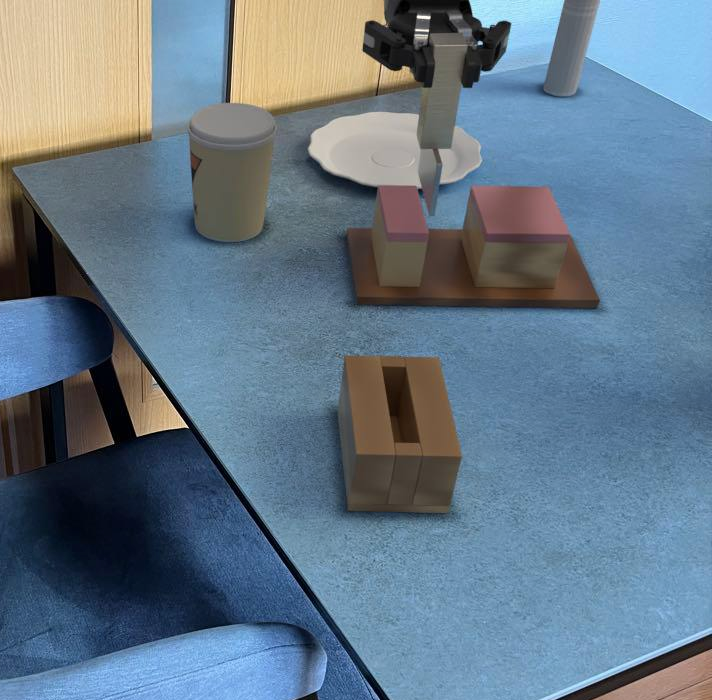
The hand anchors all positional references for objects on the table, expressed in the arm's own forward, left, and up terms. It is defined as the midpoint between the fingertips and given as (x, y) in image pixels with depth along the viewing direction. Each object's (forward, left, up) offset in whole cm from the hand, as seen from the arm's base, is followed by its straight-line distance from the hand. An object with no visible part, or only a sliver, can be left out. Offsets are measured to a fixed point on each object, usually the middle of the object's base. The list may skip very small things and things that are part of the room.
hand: (450, 76), depth 87 cm
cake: (-8, -7, -23) cm, 25 cm away
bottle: (-27, -55, -23) cm, 66 cm away
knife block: (+4, +24, -23) cm, 33 cm away
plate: (-2, -33, -23) cm, 41 cm away
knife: (0, -3, -12) cm, 12 cm away
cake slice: (+1, -7, -22) cm, 23 cm away
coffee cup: (+18, -16, -23) cm, 34 cm away
